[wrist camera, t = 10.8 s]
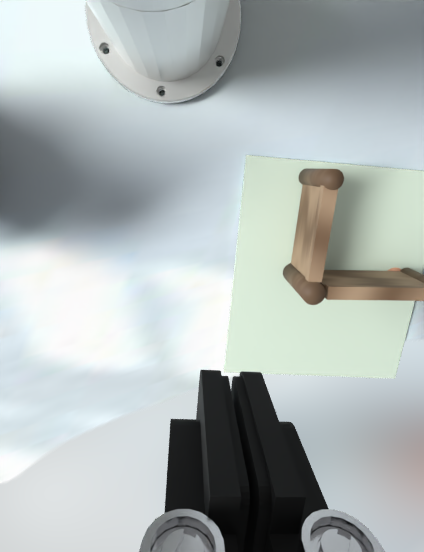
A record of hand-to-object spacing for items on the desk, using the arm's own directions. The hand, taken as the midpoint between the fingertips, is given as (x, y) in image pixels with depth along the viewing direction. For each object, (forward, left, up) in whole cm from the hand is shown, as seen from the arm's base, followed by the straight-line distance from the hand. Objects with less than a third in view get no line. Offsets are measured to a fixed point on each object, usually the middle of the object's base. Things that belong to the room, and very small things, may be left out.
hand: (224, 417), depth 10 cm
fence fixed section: (-2, +10, -27) cm, 29 cm away
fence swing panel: (+3, +17, -26) cm, 32 cm away
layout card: (+4, +14, -27) cm, 31 cm away
